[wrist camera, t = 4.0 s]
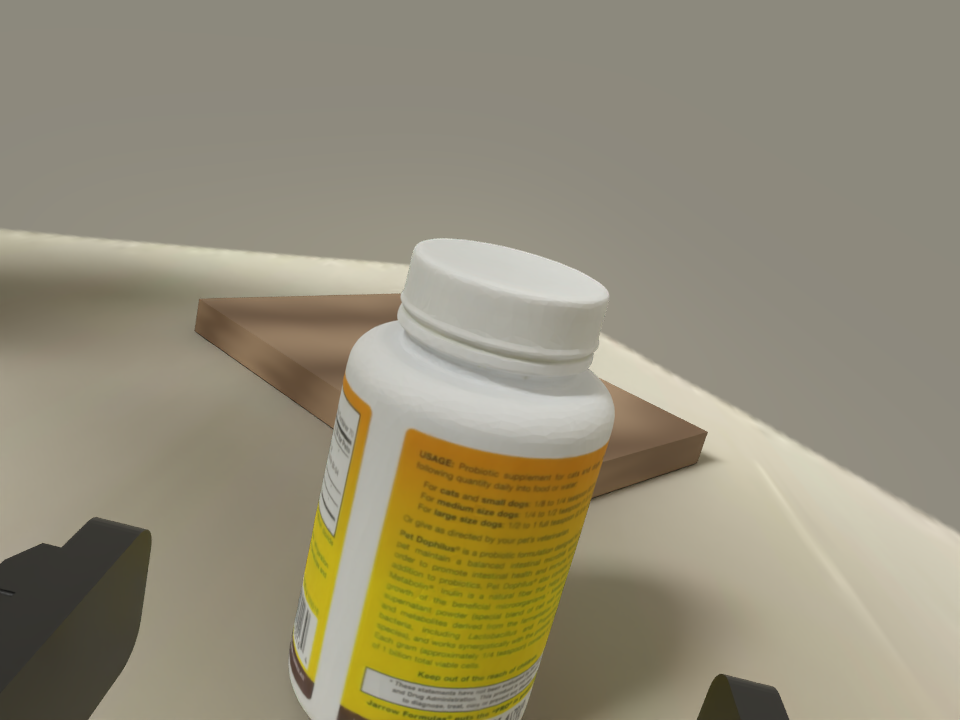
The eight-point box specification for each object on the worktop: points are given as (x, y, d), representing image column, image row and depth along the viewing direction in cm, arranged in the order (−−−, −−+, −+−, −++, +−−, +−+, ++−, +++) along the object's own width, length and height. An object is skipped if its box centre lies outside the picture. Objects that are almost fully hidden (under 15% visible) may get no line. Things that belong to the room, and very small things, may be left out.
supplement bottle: (567, 719, 21) (705, 311, 17) (391, 830, 16) (529, 323, 13) (412, 591, 24) (503, 229, 21) (233, 656, 20) (314, 218, 17)
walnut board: (194, 330, 39) (199, 298, 38) (422, 318, 49) (428, 293, 48) (483, 534, 28) (494, 492, 27) (697, 462, 38) (707, 431, 38)
